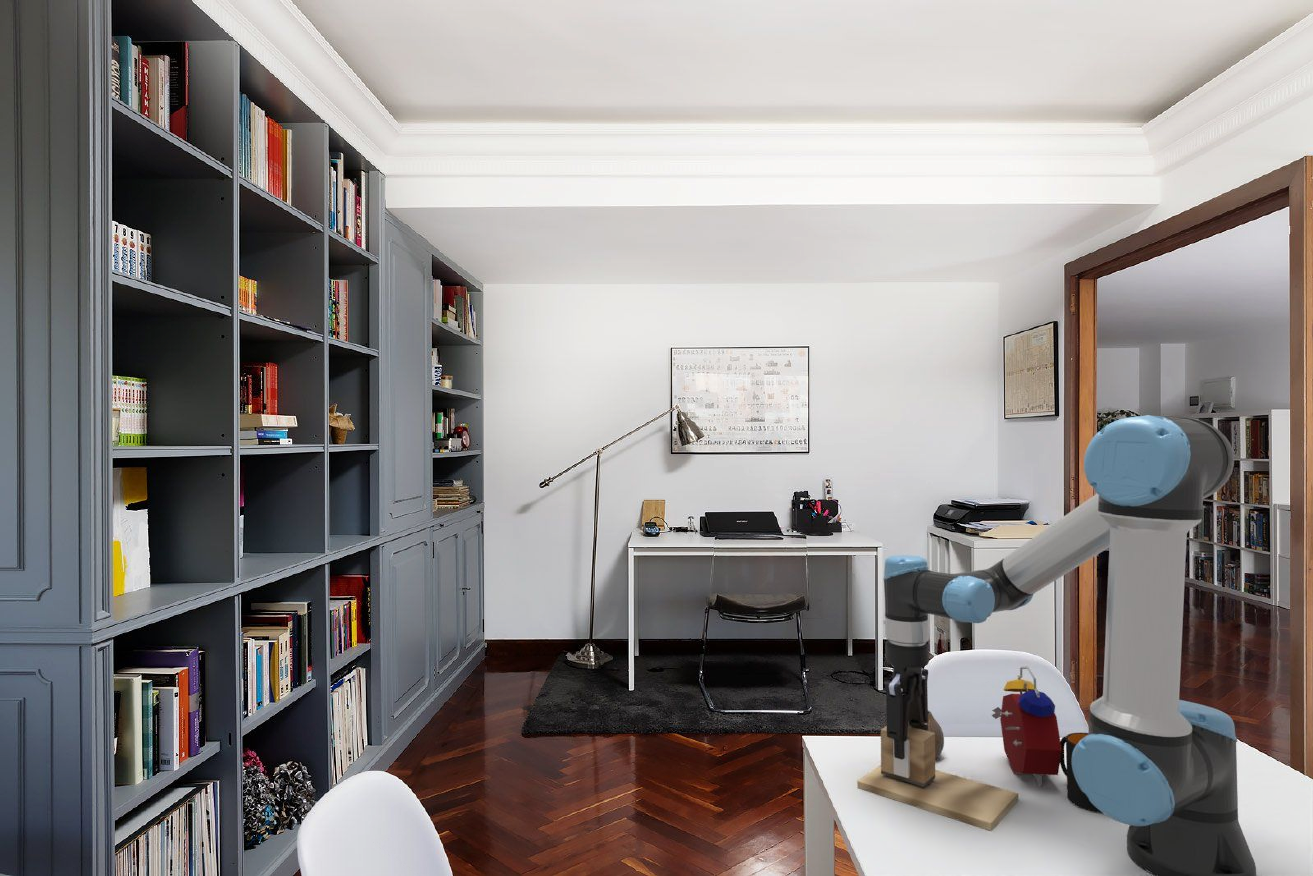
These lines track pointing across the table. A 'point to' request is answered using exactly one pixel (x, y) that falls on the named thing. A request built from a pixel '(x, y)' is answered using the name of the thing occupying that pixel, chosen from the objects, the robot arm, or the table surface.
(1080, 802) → the mug
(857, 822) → the table surface
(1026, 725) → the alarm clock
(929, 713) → the vase
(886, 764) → the wooden block
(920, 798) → the board
